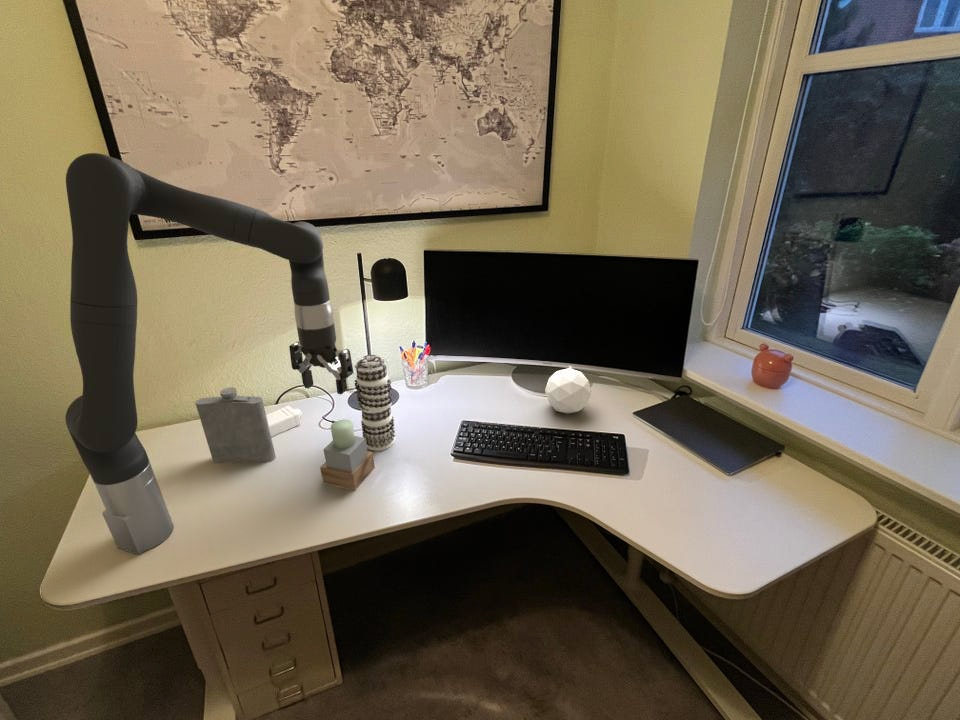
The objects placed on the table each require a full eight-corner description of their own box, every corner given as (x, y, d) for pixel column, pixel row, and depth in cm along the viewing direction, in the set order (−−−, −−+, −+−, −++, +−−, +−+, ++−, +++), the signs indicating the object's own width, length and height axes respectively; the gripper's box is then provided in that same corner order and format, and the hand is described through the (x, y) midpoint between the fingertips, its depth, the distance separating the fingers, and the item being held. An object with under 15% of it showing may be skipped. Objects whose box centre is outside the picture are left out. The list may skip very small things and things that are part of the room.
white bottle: (306, 423, 141) (304, 410, 139) (261, 443, 132) (258, 429, 130) (295, 415, 145) (293, 402, 143) (251, 433, 136) (247, 420, 134)
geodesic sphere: (542, 376, 153) (546, 356, 141) (585, 377, 153) (593, 357, 140) (543, 419, 147) (547, 402, 134) (589, 420, 146) (597, 403, 134)
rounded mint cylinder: (359, 439, 116) (356, 421, 114) (347, 451, 112) (345, 433, 110) (341, 435, 118) (338, 418, 115) (329, 447, 113) (326, 429, 111)
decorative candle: (355, 448, 129) (343, 364, 118) (373, 429, 137) (363, 349, 126) (386, 454, 126) (376, 369, 116) (402, 435, 134) (395, 354, 124)
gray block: (352, 472, 113) (349, 454, 110) (326, 466, 115) (323, 449, 112) (367, 455, 119) (365, 438, 116) (343, 449, 121) (340, 433, 118)
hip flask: (210, 463, 124) (189, 395, 115) (218, 453, 127) (198, 387, 119) (273, 462, 124) (257, 394, 115) (278, 452, 128) (263, 386, 119)
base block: (355, 491, 114) (353, 474, 112) (323, 483, 117) (320, 466, 115) (374, 468, 122) (372, 452, 120) (344, 461, 124) (341, 445, 122)
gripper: (354, 319, 102) (362, 387, 109) (298, 312, 106) (309, 377, 113) (333, 332, 96) (343, 403, 103) (274, 323, 100) (287, 392, 107)
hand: (325, 389), depth 108 cm, fingers open, 8 cm apart
